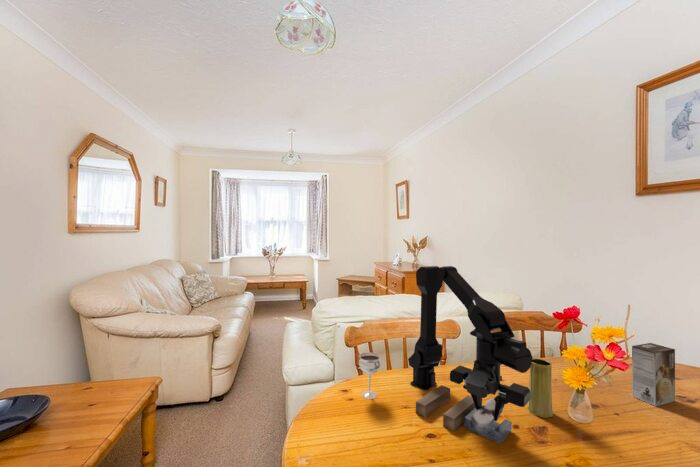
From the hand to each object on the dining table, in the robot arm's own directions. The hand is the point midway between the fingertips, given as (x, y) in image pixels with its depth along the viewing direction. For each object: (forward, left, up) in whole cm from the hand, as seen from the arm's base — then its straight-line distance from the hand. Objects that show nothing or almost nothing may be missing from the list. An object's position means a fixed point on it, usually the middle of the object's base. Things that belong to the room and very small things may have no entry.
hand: (487, 417), depth 82 cm
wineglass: (-33, -9, -3) cm, 34 cm away
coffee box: (+29, +52, -3) cm, 60 cm away
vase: (+7, +19, -3) cm, 21 cm away
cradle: (0, 0, -3) cm, 3 cm away
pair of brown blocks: (-11, 0, -3) cm, 12 cm away
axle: (0, 0, +1) cm, 1 cm away
